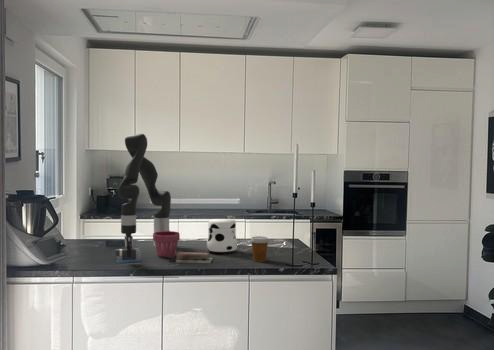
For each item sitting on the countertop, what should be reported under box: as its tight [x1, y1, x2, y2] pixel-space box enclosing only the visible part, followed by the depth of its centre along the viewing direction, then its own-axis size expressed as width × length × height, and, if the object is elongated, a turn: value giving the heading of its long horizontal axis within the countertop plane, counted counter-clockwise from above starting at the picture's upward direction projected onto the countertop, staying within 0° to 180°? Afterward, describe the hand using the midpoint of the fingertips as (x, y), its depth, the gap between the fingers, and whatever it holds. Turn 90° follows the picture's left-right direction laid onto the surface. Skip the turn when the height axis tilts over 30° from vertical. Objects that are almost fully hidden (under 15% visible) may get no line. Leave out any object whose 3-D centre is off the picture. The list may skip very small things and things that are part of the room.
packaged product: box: [175, 251, 213, 264], centre depth 245 cm, size 18×5×10 cm
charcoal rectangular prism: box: [115, 248, 136, 261], centre depth 241 cm, size 10×3×5 cm, turn 106°
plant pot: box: [152, 230, 181, 259], centre depth 254 cm, size 14×14×13 cm
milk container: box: [206, 218, 238, 254], centre depth 268 cm, size 17×17×18 cm
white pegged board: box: [115, 247, 142, 265], centre depth 247 cm, size 12×22×4 cm, turn 17°
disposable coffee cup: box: [250, 235, 270, 263], centre depth 247 cm, size 10×10×12 cm
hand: (128, 255), depth 242 cm, fingers open, 8 cm apart
